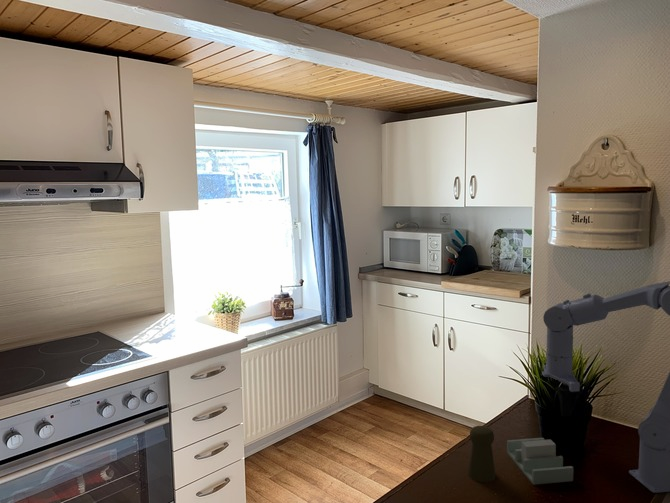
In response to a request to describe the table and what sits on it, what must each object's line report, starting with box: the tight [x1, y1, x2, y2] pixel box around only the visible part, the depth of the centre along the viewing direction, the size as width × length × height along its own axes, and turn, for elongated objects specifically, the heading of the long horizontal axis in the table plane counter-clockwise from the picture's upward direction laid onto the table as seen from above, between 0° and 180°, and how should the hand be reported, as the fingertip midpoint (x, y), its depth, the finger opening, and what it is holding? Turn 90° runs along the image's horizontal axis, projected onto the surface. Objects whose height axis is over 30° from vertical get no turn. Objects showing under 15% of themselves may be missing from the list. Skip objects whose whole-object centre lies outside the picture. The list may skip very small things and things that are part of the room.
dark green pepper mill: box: [467, 425, 496, 483], centre depth 116 cm, size 6×6×11 cm
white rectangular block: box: [521, 439, 557, 464], centre depth 119 cm, size 7×2×5 cm, turn 95°
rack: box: [506, 437, 574, 485], centre depth 119 cm, size 9×14×3 cm, turn 5°
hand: (558, 408), depth 125 cm, fingers open, 7 cm apart
